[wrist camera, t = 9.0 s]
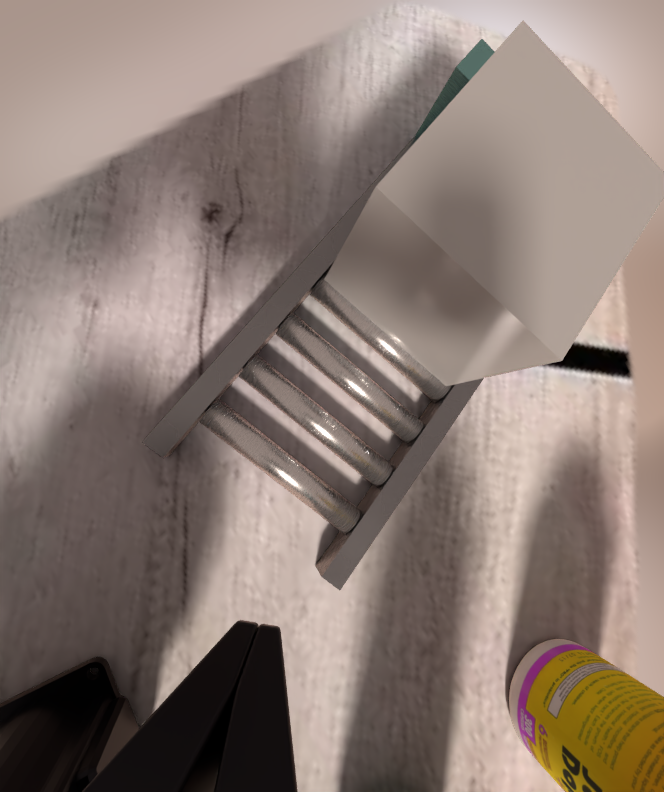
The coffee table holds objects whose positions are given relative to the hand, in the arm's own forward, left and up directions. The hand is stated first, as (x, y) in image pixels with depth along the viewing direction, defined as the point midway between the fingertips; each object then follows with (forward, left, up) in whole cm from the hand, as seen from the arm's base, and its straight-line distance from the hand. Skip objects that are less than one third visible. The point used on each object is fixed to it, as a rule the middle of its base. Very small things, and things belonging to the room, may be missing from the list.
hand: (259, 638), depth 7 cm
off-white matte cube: (+15, +9, -11) cm, 20 cm away
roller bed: (+10, +6, -13) cm, 18 cm away
